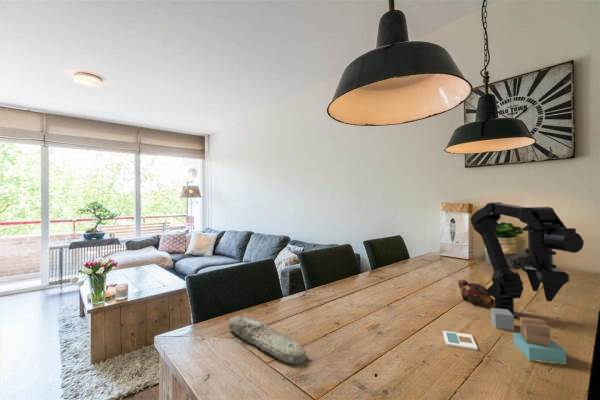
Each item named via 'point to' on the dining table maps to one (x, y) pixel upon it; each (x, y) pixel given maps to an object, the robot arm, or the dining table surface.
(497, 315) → the slate grey block
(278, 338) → the elongated rock
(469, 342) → the tile
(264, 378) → the dining table surface
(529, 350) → the teal base block
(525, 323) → the walnut block
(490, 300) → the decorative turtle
